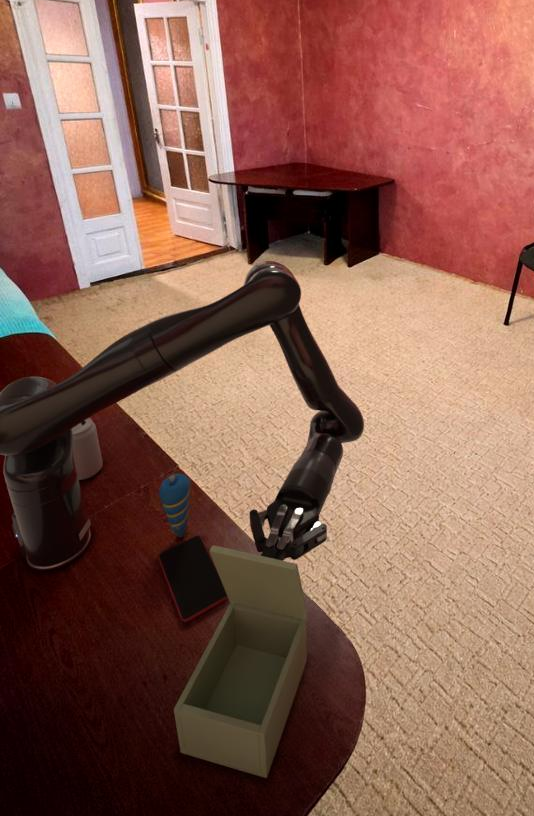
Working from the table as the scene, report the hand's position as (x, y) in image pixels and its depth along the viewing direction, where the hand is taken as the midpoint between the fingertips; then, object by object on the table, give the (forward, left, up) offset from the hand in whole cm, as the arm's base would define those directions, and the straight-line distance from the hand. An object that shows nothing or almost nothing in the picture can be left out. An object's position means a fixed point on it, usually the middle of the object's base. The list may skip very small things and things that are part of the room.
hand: (262, 577), depth 65 cm
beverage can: (-54, +26, -17) cm, 62 cm away
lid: (0, -1, -1) cm, 1 cm away
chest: (0, -6, -17) cm, 18 cm away
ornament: (-25, +16, -17) cm, 34 cm away
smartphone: (-18, +9, -17) cm, 26 cm away
